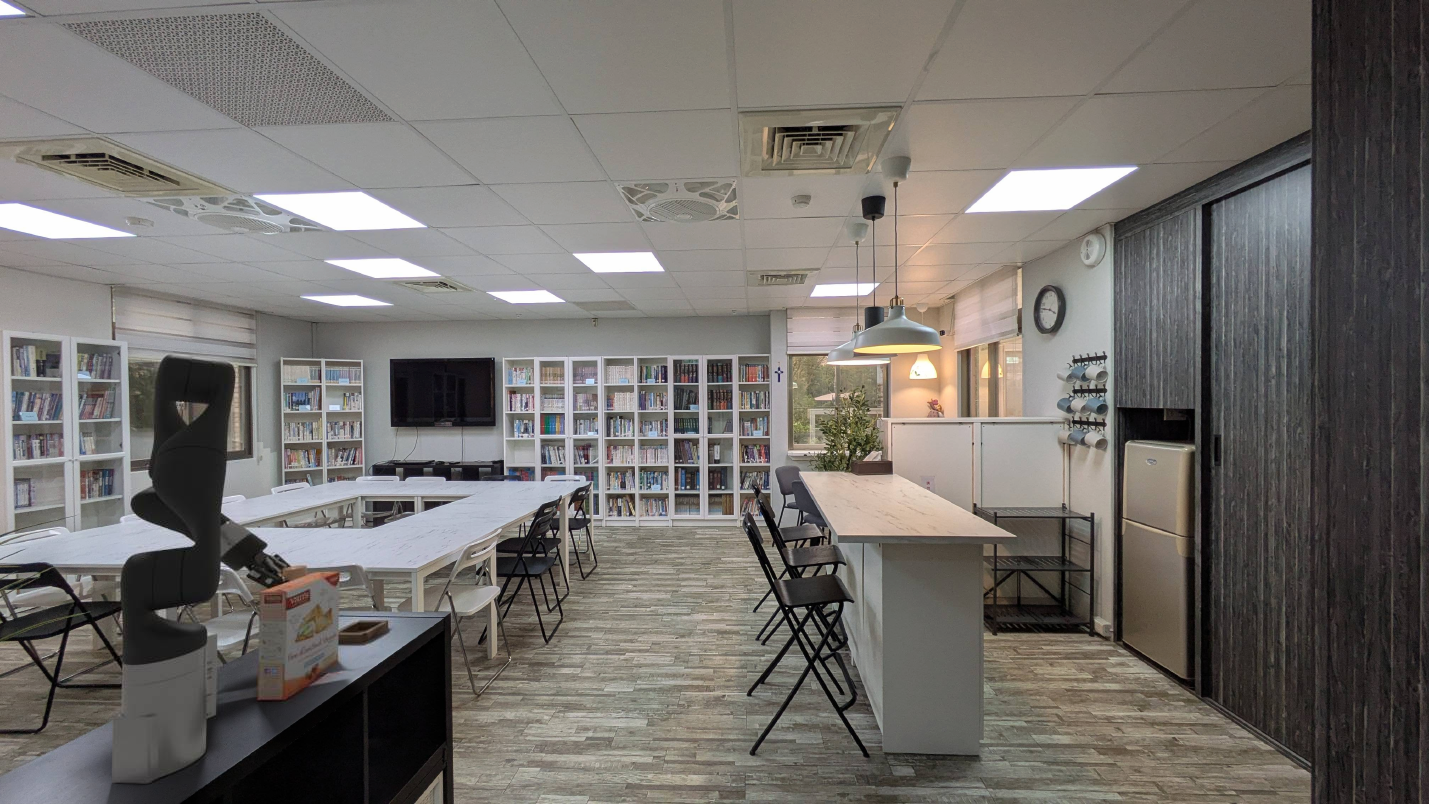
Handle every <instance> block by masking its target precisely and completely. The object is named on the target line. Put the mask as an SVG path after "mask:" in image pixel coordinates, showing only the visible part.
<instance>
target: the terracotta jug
mask: <svg viewBox="0 0 1429 804" xmlns="http://www.w3.org/2000/svg"><path fill="white" fill-rule="evenodd" d="M291 566H292V565H291ZM307 572H308V566H307V565H304V564H303V565H301V564H299V565H293V566H292V567H288V568H284V569H283V576H284V577H285V578H286V579H287V580H288V581H293V580H295V579H298V578H301V577H304V576H307V575H309V574H310V573H307ZM287 580H286V581H287Z"/></svg>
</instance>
